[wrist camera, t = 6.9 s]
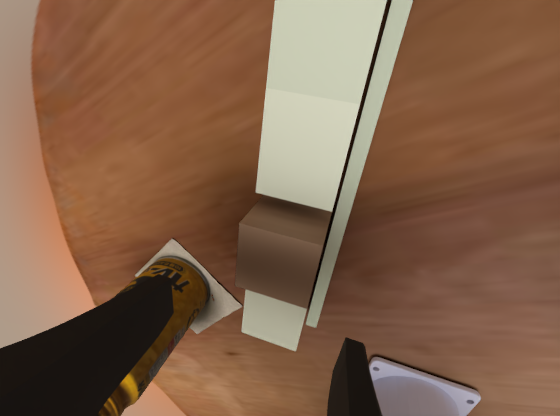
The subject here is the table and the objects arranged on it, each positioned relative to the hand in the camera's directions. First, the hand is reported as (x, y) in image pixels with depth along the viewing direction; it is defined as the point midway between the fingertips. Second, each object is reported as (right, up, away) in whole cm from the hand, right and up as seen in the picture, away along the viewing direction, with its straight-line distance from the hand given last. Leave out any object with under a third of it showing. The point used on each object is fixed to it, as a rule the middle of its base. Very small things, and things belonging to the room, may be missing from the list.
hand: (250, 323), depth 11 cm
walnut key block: (+3, +4, +8) cm, 9 cm away
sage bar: (+3, +6, +7) cm, 9 cm away
